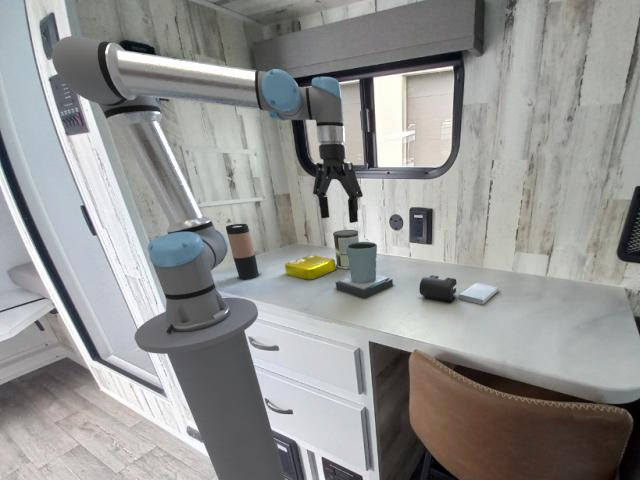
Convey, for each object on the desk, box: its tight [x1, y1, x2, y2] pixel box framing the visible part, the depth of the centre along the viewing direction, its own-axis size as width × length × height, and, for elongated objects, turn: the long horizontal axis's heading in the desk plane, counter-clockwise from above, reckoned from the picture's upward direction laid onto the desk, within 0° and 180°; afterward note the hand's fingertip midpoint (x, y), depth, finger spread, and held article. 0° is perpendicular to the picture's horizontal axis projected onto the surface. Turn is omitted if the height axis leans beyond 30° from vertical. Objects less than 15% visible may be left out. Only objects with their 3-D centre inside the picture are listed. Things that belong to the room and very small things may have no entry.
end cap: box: [418, 274, 458, 303], centre depth 96 cm, size 10×7×7 cm
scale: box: [335, 273, 394, 300], centre depth 107 cm, size 14×14×3 cm
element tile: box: [284, 254, 336, 281], centre depth 124 cm, size 15×15×5 cm
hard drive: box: [458, 282, 499, 305], centre depth 98 cm, size 2×8×12 cm
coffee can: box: [332, 229, 360, 270], centre depth 129 cm, size 10×10×14 cm
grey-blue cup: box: [346, 241, 378, 284], centre depth 104 cm, size 10×10×12 cm
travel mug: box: [225, 223, 260, 281], centre depth 117 cm, size 8×8×20 cm
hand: (339, 220), depth 96 cm, fingers open, 13 cm apart
